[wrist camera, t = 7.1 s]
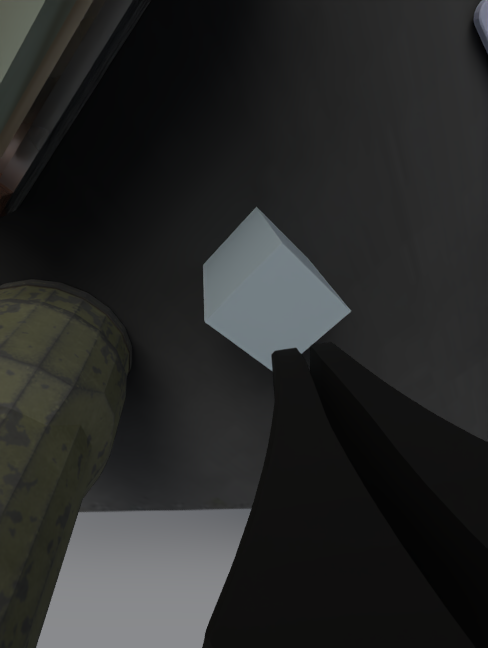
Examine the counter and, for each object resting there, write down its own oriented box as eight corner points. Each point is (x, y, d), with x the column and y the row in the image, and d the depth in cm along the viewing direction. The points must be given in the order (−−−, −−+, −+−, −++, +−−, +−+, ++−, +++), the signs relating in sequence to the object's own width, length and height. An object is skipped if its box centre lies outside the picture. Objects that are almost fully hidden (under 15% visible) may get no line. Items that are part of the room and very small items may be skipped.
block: (308, 258, 18) (351, 311, 13) (256, 308, 19) (276, 374, 14) (256, 206, 16) (282, 242, 11) (203, 265, 18) (204, 321, 12)
